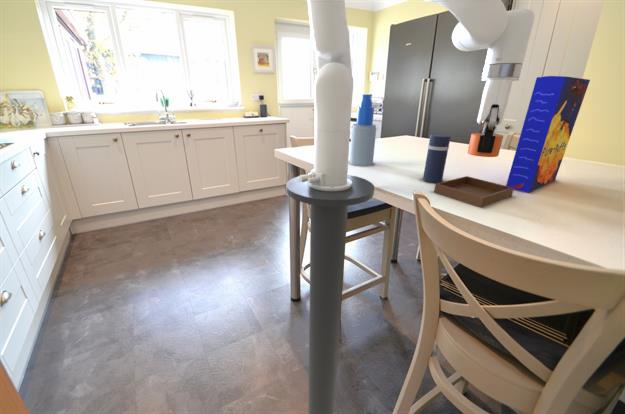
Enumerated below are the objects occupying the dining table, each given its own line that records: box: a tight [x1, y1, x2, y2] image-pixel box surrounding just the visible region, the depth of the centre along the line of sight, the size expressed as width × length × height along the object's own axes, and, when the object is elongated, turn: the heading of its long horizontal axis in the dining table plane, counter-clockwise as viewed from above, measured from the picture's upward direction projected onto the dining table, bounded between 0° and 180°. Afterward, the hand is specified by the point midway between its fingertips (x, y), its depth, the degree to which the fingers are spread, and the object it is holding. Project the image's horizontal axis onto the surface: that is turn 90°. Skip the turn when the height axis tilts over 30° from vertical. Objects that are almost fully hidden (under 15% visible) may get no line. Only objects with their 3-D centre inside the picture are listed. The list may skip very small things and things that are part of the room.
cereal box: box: [505, 75, 591, 194], centre depth 82 cm, size 22×6×30 cm, turn 126°
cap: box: [467, 132, 504, 158], centre depth 72 cm, size 7×7×5 cm
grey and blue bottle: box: [349, 93, 377, 167], centre depth 105 cm, size 9×9×25 cm
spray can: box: [422, 133, 451, 184], centre depth 87 cm, size 6×6×14 cm
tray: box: [433, 175, 515, 208], centre depth 77 cm, size 15×13×2 cm
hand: (483, 149), depth 73 cm, fingers closed on cap, 7 cm apart
